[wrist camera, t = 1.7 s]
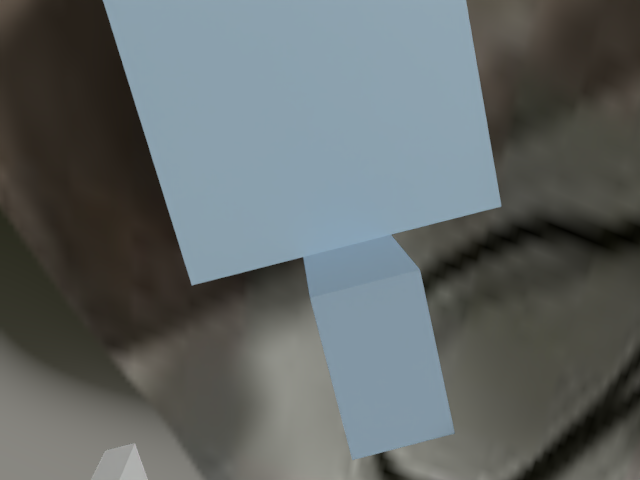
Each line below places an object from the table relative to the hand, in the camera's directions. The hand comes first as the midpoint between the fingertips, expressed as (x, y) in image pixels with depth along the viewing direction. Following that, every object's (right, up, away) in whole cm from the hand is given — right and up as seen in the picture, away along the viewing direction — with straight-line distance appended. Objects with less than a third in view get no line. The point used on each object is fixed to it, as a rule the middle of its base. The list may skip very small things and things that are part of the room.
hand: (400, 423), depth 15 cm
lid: (-2, +9, +6) cm, 11 cm away
